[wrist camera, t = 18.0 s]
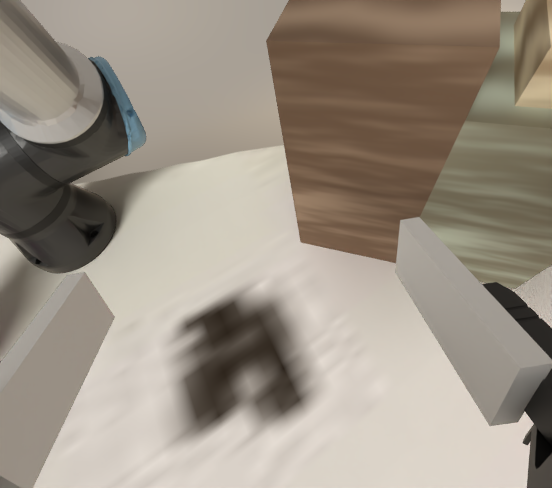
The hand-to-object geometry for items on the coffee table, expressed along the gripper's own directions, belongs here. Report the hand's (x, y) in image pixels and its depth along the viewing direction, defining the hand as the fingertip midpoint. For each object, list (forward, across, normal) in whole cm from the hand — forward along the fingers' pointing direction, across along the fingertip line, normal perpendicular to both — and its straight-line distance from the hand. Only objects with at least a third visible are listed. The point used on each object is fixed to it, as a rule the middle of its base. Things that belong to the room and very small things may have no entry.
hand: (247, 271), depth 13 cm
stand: (+28, +20, -18) cm, 38 cm away
